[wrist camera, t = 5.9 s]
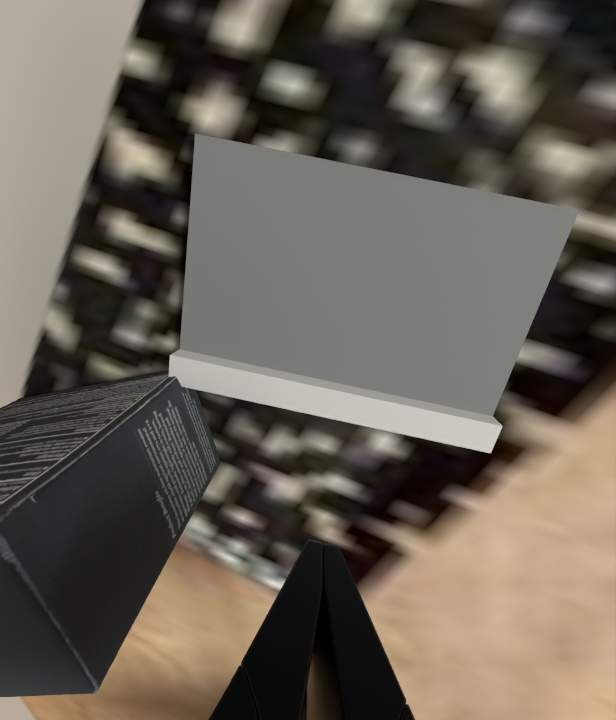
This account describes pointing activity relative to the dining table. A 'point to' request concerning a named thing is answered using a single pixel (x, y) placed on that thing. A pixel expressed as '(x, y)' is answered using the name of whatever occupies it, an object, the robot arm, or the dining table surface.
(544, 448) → the dining table surface
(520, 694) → the dining table surface
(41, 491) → the small box
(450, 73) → the dining table surface
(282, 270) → the mat
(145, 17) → the dining table surface
